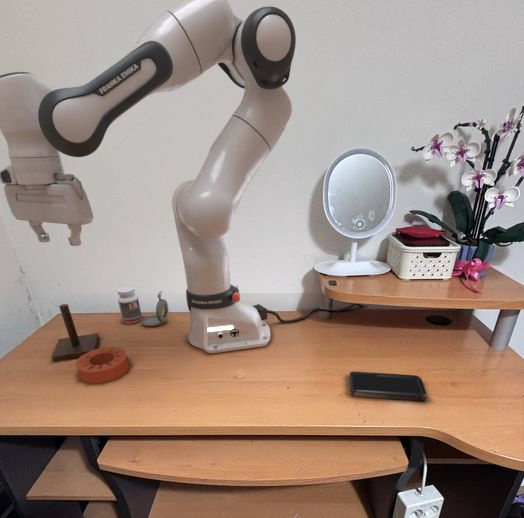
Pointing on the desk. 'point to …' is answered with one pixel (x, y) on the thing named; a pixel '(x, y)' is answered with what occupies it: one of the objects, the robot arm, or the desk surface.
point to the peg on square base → (73, 340)
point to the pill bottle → (129, 305)
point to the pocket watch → (157, 314)
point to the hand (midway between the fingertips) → (60, 243)
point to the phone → (387, 386)
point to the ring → (102, 365)
